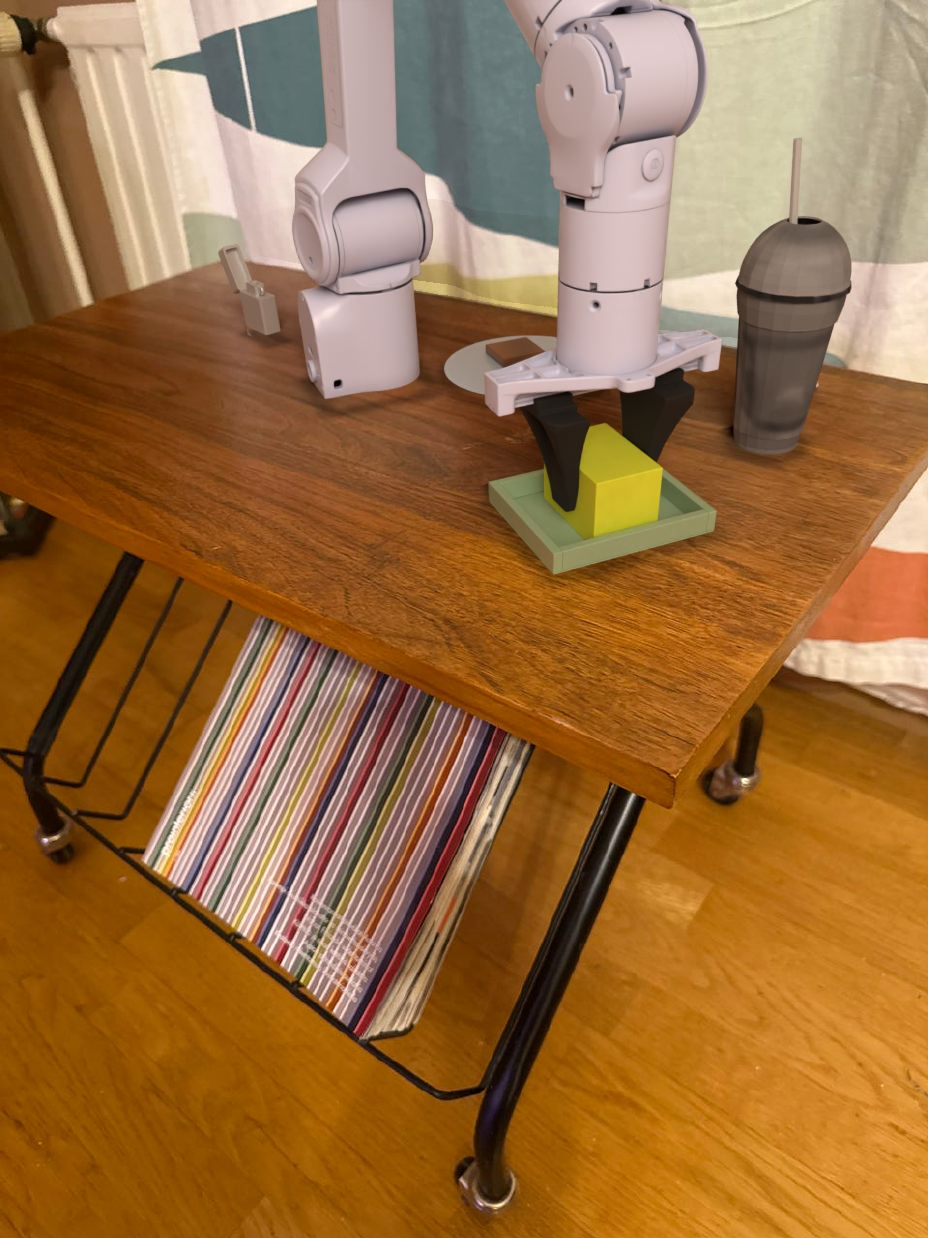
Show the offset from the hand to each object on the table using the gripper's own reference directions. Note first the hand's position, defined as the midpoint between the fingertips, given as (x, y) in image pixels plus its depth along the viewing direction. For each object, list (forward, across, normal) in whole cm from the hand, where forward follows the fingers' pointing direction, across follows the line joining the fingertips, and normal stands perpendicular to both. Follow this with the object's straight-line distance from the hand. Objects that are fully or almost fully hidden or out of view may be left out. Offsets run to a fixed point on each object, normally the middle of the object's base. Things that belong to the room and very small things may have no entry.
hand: (598, 495), depth 57 cm
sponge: (+1, 0, 0) cm, 1 cm away
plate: (+2, +6, +24) cm, 25 cm away
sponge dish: (+2, 0, 0) cm, 2 cm away
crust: (+1, +6, +26) cm, 27 cm away
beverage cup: (+2, +16, +4) cm, 17 cm away
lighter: (+2, -13, +46) cm, 48 cm away
